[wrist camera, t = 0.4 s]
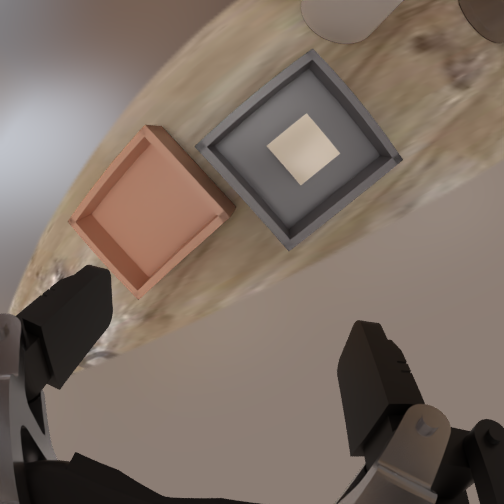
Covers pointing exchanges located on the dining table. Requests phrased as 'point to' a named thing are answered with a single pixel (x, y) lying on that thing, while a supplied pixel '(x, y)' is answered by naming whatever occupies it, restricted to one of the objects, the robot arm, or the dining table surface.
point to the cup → (346, 17)
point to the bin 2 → (274, 172)
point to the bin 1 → (149, 210)
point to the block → (303, 149)
